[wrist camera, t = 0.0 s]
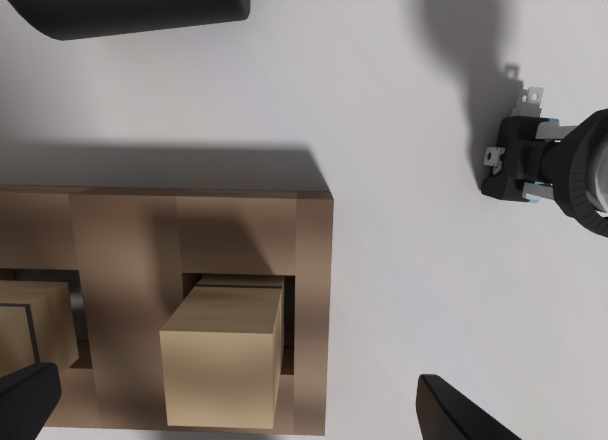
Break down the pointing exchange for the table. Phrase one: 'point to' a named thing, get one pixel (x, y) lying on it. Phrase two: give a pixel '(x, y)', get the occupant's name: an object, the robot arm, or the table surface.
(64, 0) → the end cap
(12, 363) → the oak peg
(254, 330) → the walnut board
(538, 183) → the push button
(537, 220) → the table surface
